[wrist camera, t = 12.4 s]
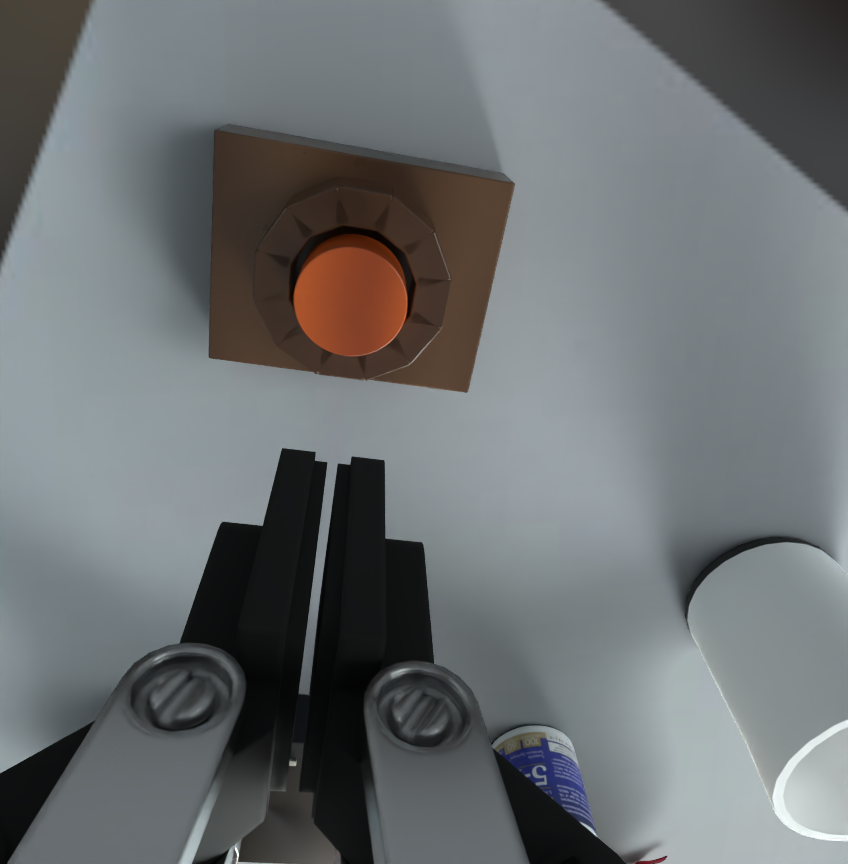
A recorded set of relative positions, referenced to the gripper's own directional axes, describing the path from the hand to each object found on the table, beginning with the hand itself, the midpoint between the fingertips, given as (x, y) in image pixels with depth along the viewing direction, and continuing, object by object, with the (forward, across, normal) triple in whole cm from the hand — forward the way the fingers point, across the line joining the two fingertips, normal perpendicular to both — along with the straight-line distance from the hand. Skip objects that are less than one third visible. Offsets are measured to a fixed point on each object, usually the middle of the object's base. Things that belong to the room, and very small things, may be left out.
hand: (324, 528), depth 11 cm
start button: (+13, 0, 0) cm, 13 cm away
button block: (+17, 0, 0) cm, 17 cm away
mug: (+17, -24, +15) cm, 33 cm away
